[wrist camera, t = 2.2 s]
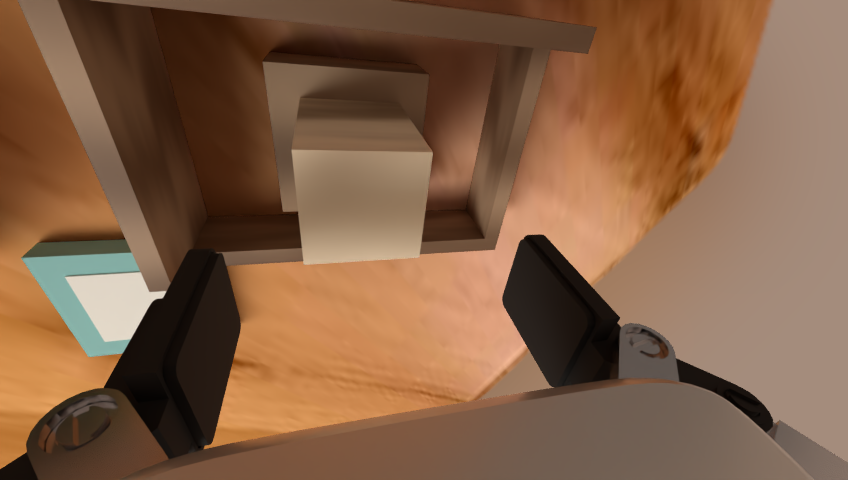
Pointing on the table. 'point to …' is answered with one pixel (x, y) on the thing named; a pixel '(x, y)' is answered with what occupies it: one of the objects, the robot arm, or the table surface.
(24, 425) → the table surface
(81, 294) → the teal picture frame
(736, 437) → the robot arm
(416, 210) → the beech block
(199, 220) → the brown wooden tray
